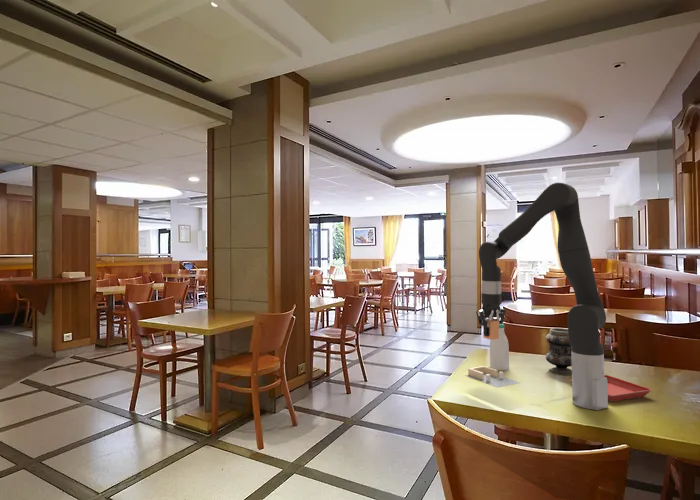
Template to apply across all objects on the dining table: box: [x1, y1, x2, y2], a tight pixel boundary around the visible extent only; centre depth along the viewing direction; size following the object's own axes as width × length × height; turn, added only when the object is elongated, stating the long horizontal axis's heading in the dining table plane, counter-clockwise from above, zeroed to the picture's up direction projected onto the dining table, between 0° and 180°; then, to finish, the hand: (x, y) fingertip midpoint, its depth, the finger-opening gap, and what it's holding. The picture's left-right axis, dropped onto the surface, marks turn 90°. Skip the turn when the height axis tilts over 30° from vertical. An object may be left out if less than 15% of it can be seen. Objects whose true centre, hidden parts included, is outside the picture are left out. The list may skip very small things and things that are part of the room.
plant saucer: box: [569, 374, 652, 402], centre depth 142 cm, size 18×18×3 cm
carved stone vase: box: [545, 327, 572, 376], centre depth 168 cm, size 12×12×18 cm
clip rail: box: [464, 365, 521, 388], centre depth 156 cm, size 17×12×4 cm
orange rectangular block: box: [482, 320, 500, 340], centre depth 156 cm, size 4×4×7 cm
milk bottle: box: [489, 323, 510, 371], centre depth 172 cm, size 8×8×20 cm
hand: (491, 335), depth 156 cm, fingers closed on orange rectangular block, 4 cm apart
